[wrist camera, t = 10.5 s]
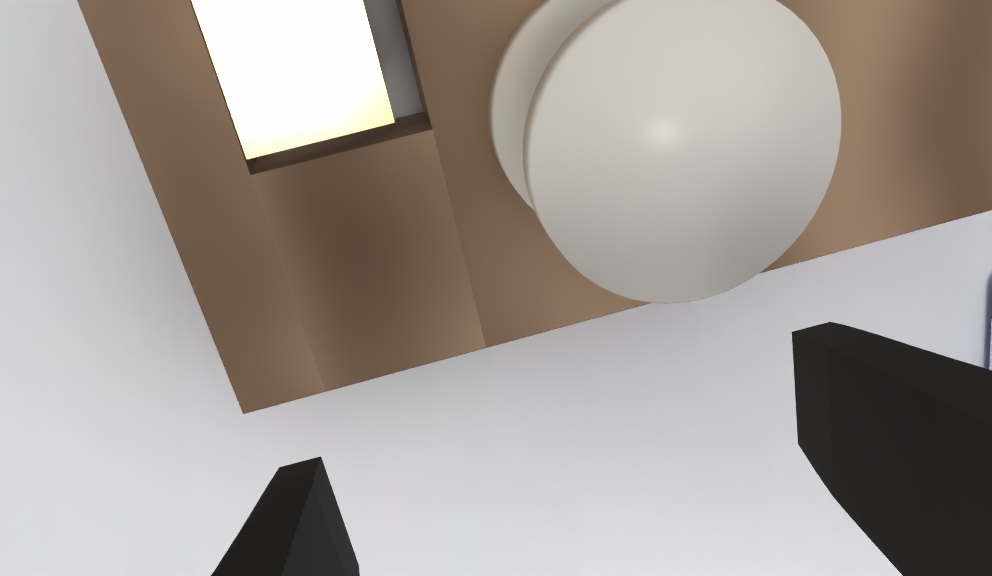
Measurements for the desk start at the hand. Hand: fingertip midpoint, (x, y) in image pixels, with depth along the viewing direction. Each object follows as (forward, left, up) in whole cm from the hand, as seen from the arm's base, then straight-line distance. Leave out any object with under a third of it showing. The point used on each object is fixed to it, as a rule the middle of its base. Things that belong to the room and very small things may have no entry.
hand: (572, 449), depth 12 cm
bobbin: (-3, -3, -8) cm, 9 cm away
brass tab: (+3, -7, -10) cm, 12 cm away
